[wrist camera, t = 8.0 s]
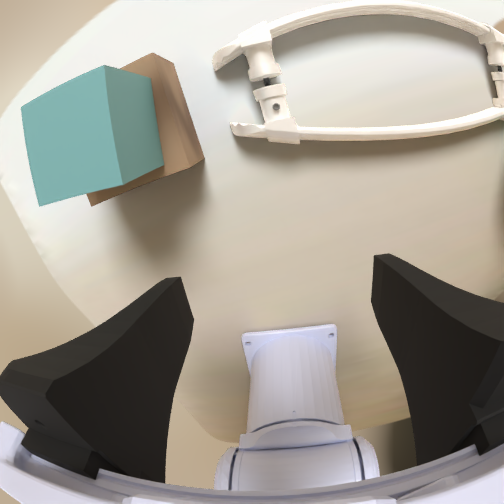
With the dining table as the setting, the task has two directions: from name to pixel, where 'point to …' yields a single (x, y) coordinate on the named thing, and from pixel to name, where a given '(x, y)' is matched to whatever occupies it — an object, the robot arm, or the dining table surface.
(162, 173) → the walnut block
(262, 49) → the white curved loop
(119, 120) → the teal cube
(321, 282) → the dining table surface
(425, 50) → the dining table surface
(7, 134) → the dining table surface
